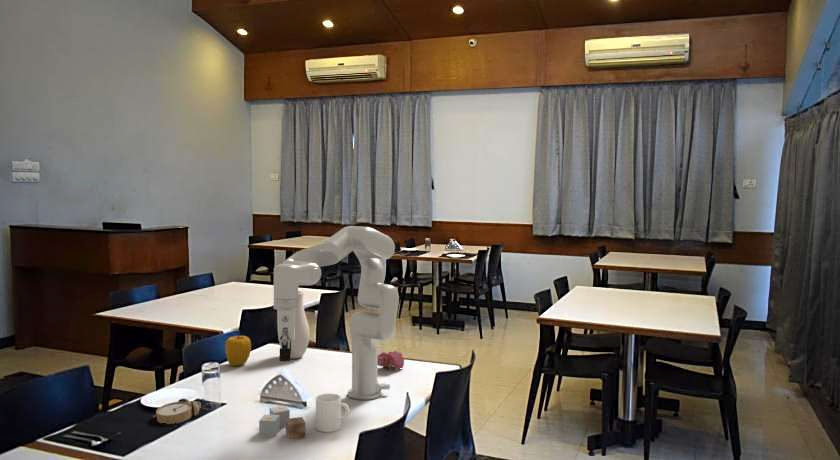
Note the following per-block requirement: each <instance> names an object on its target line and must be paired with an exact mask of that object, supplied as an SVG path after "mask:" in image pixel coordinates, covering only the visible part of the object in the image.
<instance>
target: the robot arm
mask: <svg viewBox="0 0 840 460" xmlns="http://www.w3.org/2000/svg"><path fill="white" fill-rule="evenodd" d="M395 249H396V245H395V243H394V240H393V239H392V238H391V237H390V236H389V235H386V234H385V233H382V232H381V231H379V230H376V229H374V228H372V227H369V226H357V225H356V226H355V225H348V226H347V225H346V226H345V227H343V228H341V229H340V230H338V231H337V232H335V233H334V234H332V235H331V236H330V237H329V238H327V239H326V240H324V241H323V242H321V243H318V244H315V245H312V246H309V247H307V248H304V249H301V250H299V251H297V252H295V253H293V254H292V255H291V256H289V257H288V258H286V259H285V260H284V261H283V262H282V263H280V264H276V265H275V266H274V268H273V309H274V310H277V311H276V313H277V314H276V315H277V319H276V320H277V323H276V324H277V336H278V338H277V339H278V342H279V341H281V344H280V343H279V346H280V348H279V362H290V361H291V358H290V353H291V341H290V340H292V341H294V339H295V309H297V308H298V291H299V286H314V285H316V284H317V283H318V282H319V281H320V280H321V277H322V269H321V267H327V266H331V265H335V264H337V263H339V262H340V261H341V260H343V259H344V258H345V257H347V256H348V255H349V254H351V253H352V252H353V253H354V254H355V256H356V258H357V259H358V262H359V264H360V268H361V273H360V280H359V287H358V292H357V293H358V294H357V301H358V304H359V305H360V306H361V307H364V308H368V309H375V310H379V312H375V311H374V312H373V311H367V310H359V311H356V312H354V313H352V315H351V317H350V318H349V331H350V332H349V333H350V336H351V349H352V350H351V388H350V389H348V391H347V396H348V397H349V398H351V399H353V400H359V401H361V400H362V401H368V400H375V399H377V398H380V396H382V390H386V391H387V390H390V388H391V386H390V383H387V384H386V382H382V383H380V382H379V381H378V365H377V356H379V354H378V345H377V342H376V340H378V341H379V340H380V341H387V340H390V339H391V338H392V337H393V335H394V333H395V330H396V323H397V316H398V309H399V300H400V296H399V292H398V290H397V288H396V286H394V285H391V284H387V283H384V275H385V274H384V273H385V270H384V265H383V263H382V261H381V260H389V259H390V258H392V256H393V255H394V253H395Z"/></svg>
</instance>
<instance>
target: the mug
mask: <svg viewBox="0 0 840 460" xmlns="http://www.w3.org/2000/svg"><path fill="white" fill-rule="evenodd" d="M342 407H343V408H344V409H345V413H344V415H342ZM350 412H351V410H350V406H349V404H348V403H345V402H342V396H340V395H339V394H337V393H323V394H320V395H317V396H316V397H315V429H316V430H317V431H319V432H323V433H331V432H336V431H339V430H340V429H341V427H342V421H343V420H345V419H347V418H348V416H349V414H350Z"/></svg>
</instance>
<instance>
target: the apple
mask: <svg viewBox="0 0 840 460" xmlns="http://www.w3.org/2000/svg"><path fill="white" fill-rule="evenodd" d="M224 349H225V356H226V359H227V362H228V363H229V365H230V366H232V367H238V366H239V367H240V366H241V365H245V364H246V363H247V361H248V359H249V357H250V354H251V351H252V341H251V339H250V337H249V336H246V335H234V336H230V337H228V338H227V339H226V341H225V348H224Z"/></svg>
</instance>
